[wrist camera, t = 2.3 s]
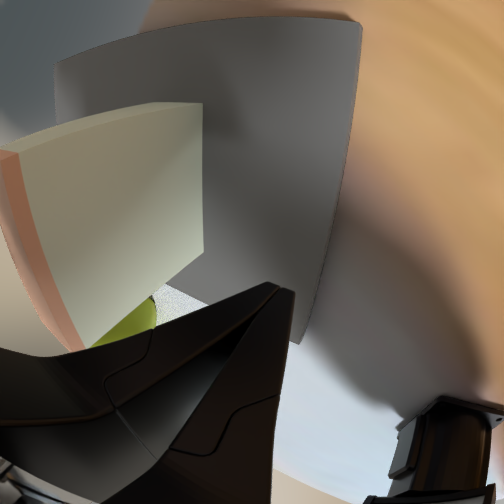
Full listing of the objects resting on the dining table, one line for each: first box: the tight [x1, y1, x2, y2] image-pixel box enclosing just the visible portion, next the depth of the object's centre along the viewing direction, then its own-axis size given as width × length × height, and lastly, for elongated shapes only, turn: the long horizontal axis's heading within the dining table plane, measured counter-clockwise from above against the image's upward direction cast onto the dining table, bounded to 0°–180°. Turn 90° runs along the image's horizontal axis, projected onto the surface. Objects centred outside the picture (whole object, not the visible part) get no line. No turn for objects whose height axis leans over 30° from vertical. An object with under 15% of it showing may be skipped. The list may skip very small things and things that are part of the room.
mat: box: [54, 17, 363, 345], centre depth 16 cm, size 22×16×1 cm
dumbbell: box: [90, 297, 157, 348], centre depth 26 cm, size 16×8×7 cm, turn 173°
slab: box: [0, 102, 204, 352], centre depth 11 cm, size 3×8×9 cm, turn 177°
